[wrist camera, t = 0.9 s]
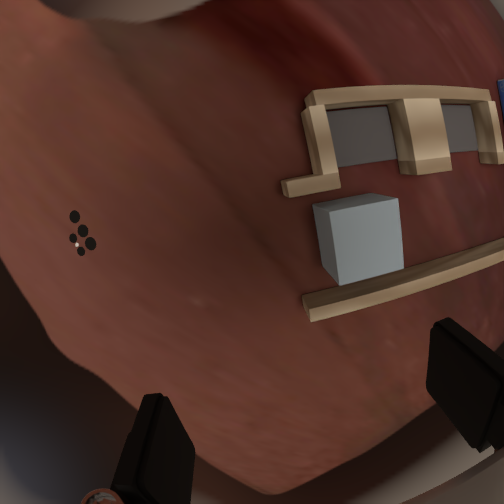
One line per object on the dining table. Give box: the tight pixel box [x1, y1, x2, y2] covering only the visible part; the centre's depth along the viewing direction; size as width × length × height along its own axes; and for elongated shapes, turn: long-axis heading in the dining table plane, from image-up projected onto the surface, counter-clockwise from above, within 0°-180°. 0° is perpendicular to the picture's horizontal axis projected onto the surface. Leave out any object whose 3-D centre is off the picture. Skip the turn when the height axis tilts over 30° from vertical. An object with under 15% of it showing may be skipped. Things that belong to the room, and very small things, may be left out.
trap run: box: [280, 85, 504, 322], centre depth 24 cm, size 18×28×3 cm, turn 102°
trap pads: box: [326, 105, 478, 167], centre depth 24 cm, size 5×18×1 cm, turn 102°
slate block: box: [312, 193, 404, 286], centre depth 24 cm, size 6×6×5 cm
